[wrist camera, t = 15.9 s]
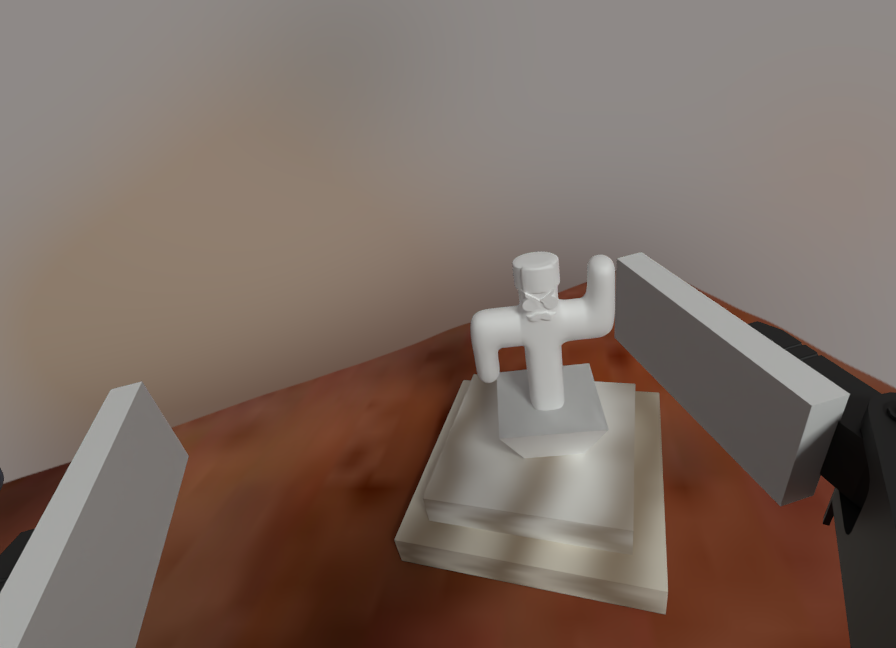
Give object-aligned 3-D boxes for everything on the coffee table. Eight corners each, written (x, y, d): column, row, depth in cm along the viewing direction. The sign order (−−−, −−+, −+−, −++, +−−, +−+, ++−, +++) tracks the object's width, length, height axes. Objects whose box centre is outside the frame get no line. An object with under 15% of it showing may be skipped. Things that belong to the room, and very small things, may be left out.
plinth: (401, 560, 37) (385, 517, 35) (467, 399, 51) (459, 360, 49) (665, 614, 31) (670, 567, 29) (657, 414, 45) (660, 370, 43)
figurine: (488, 408, 42) (460, 244, 34) (603, 397, 41) (602, 224, 33) (489, 476, 36) (456, 296, 28) (625, 466, 35) (629, 274, 27)
